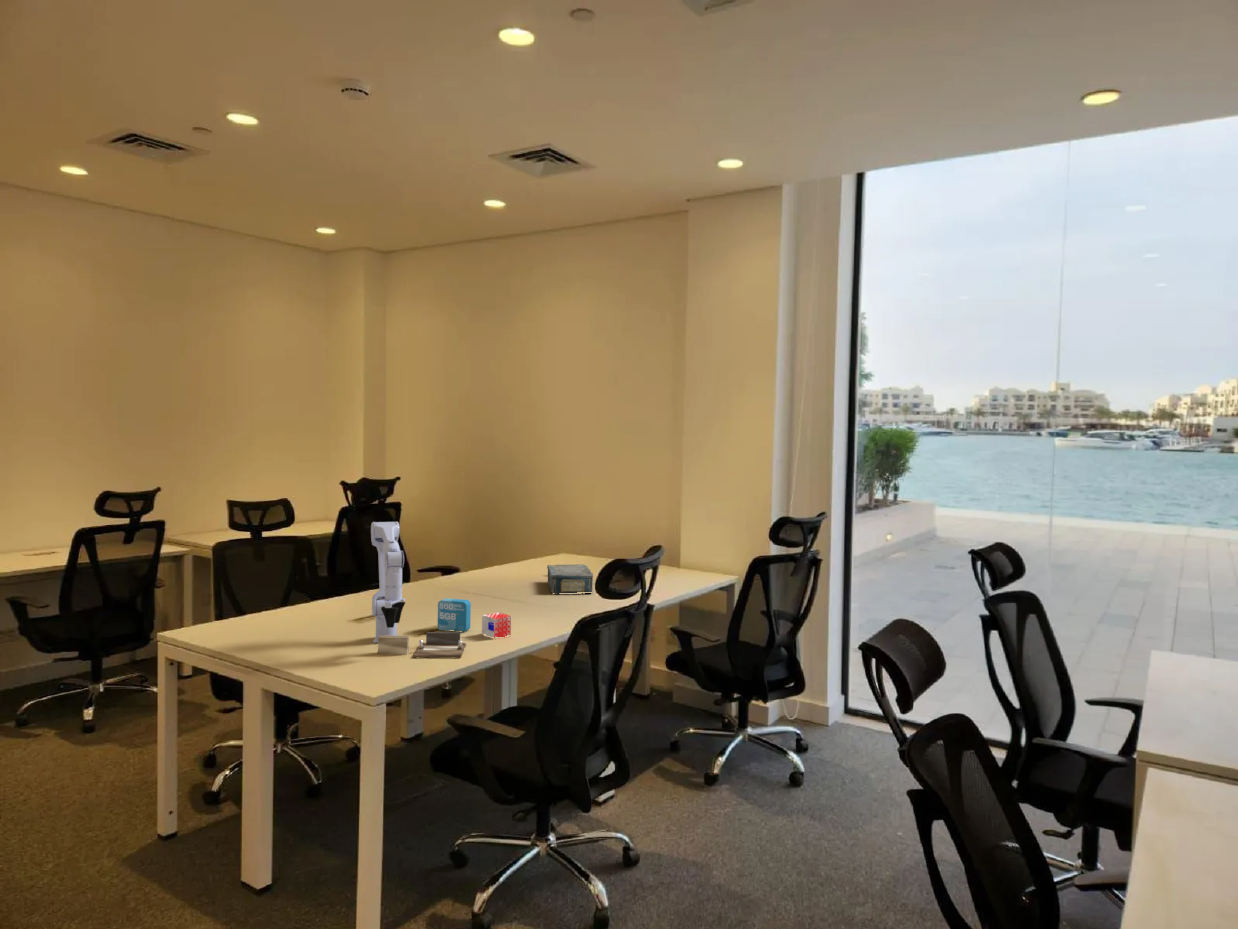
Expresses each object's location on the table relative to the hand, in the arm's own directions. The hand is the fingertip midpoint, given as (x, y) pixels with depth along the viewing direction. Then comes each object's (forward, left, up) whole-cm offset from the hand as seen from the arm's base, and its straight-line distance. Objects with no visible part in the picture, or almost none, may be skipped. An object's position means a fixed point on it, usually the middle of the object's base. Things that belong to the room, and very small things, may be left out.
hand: (393, 625), depth 283 cm
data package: (-34, +17, -10) cm, 39 cm away
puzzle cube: (-26, +34, -10) cm, 44 cm away
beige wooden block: (-1, 0, -10) cm, 10 cm away
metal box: (-121, +64, -11) cm, 137 cm away
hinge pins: (-3, +16, -10) cm, 19 cm away
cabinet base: (-3, +16, -10) cm, 19 cm away
